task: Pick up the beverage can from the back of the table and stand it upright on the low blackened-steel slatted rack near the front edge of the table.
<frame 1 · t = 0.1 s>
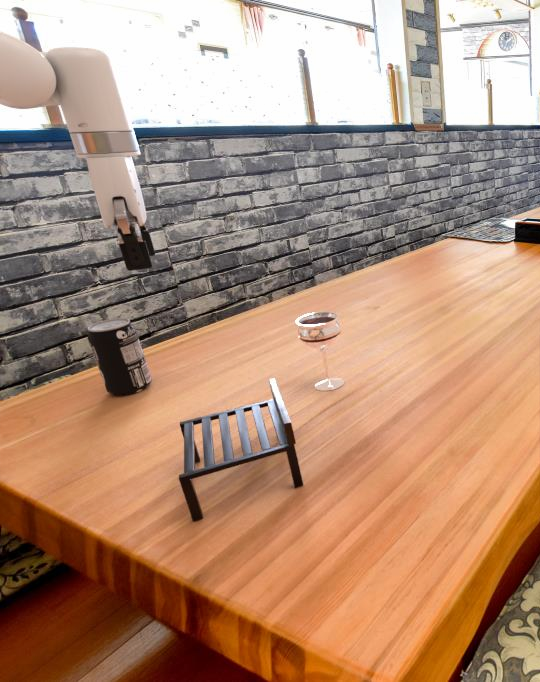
hand: (142, 262, 83), 22 cm above the table, tool pointing down, fingers open, 9 cm apart
beverage can: (131, 389, 92), on the table
rack: (245, 472, 68), on the table
wineglass: (329, 385, 91), on the table
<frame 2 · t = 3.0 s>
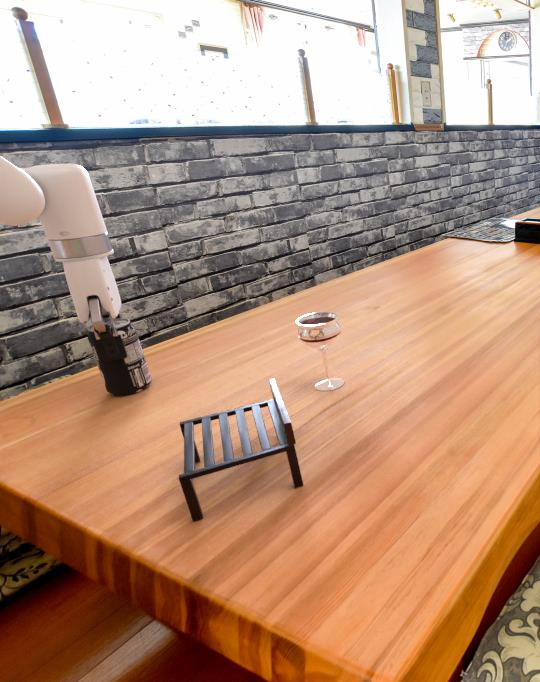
hand: (118, 351, 89), 7 cm above the table, tool pointing down, fingers closed on beverage can, 6 cm apart
beverage can: (131, 389, 92), on the table, touching gripper
everything else where it was.
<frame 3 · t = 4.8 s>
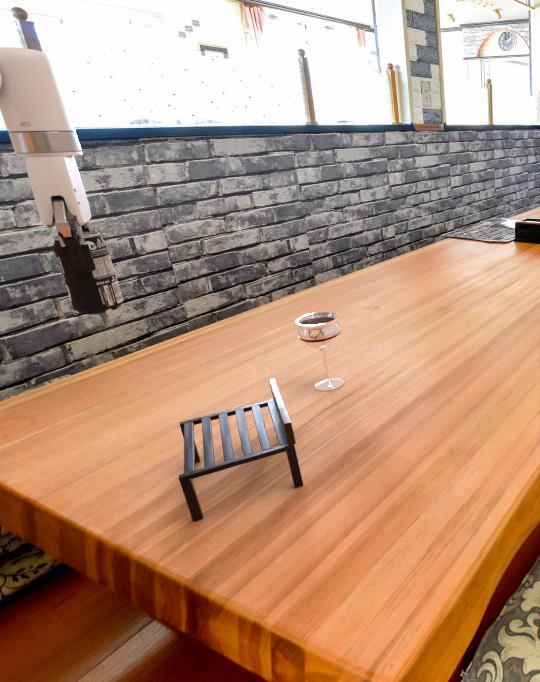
hand: (86, 266, 83), 22 cm above the table, tool pointing down, fingers closed on beverage can, 6 cm apart
beverage can: (100, 310, 86), point 15 cm above the table, touching gripper
everything else where it was.
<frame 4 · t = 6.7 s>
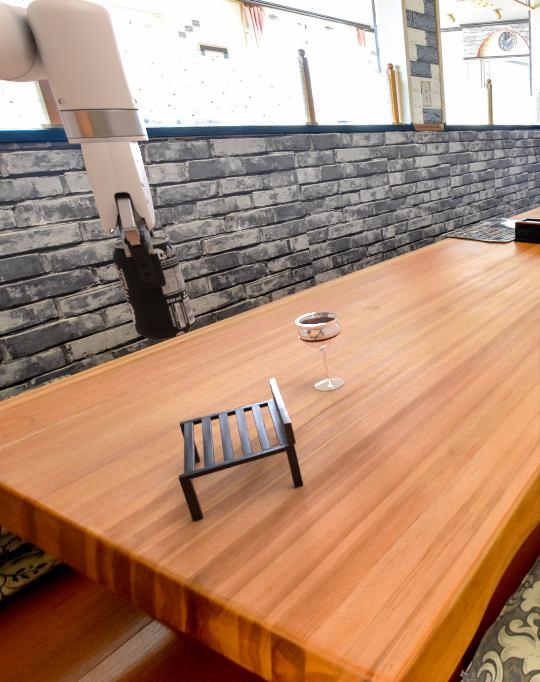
hand: (152, 279, 67), 24 cm above the table, tool pointing down, fingers closed on beverage can, 6 cm apart
beverage can: (168, 333, 70), point 16 cm above the table, touching gripper
everything else where it was.
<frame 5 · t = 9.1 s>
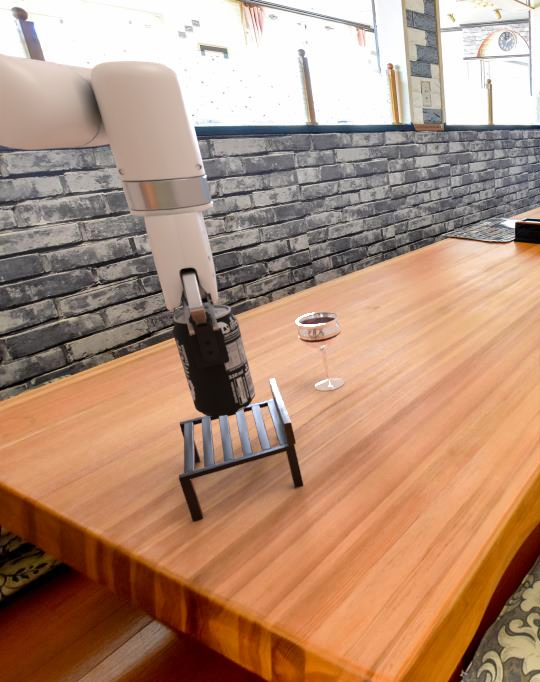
hand: (212, 352, 62), 17 cm above the table, tool pointing down, fingers closed on beverage can, 6 cm apart
beverage can: (227, 406, 65), point 10 cm above the table, touching gripper
everything else where it was.
when the fingers open (13 cm above the table, at t = 10.6 s): beverage can stays where it is, resting on rack.
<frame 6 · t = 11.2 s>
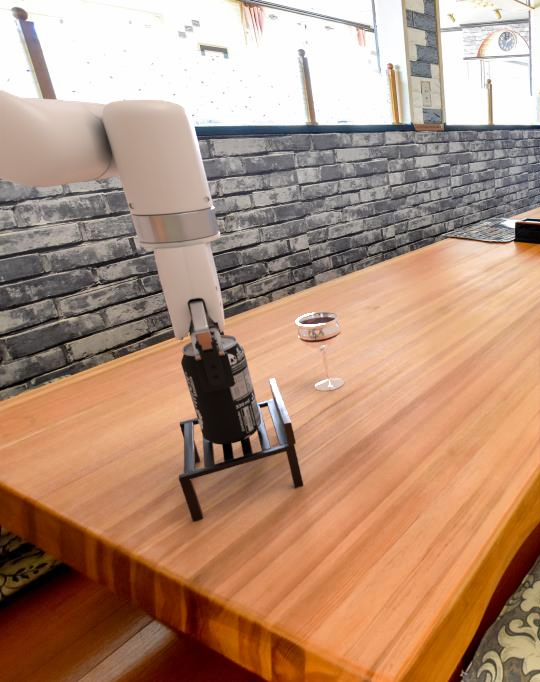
hand: (217, 372, 63), 14 cm above the table, tool pointing down, fingers open, 9 cm apart
beverage can: (234, 433, 66), point 6 cm above the table, touching rack
everything else where it was.
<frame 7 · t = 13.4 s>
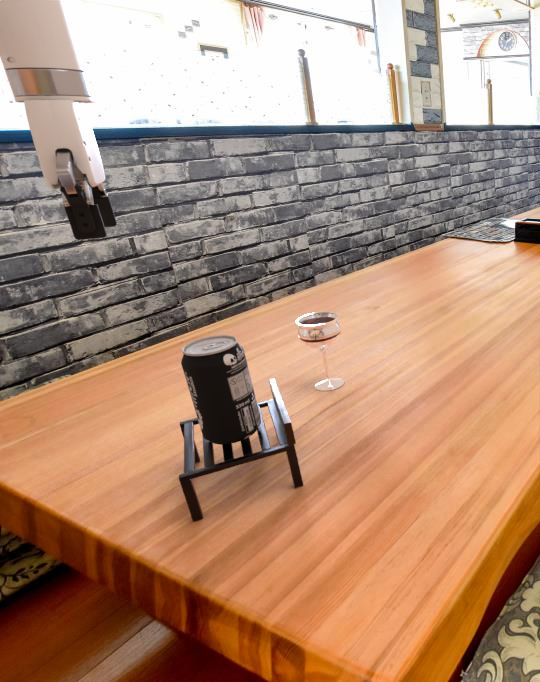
hand: (98, 232, 70), 29 cm above the table, tool pointing down, fingers open, 9 cm apart
nothing on the table moved.
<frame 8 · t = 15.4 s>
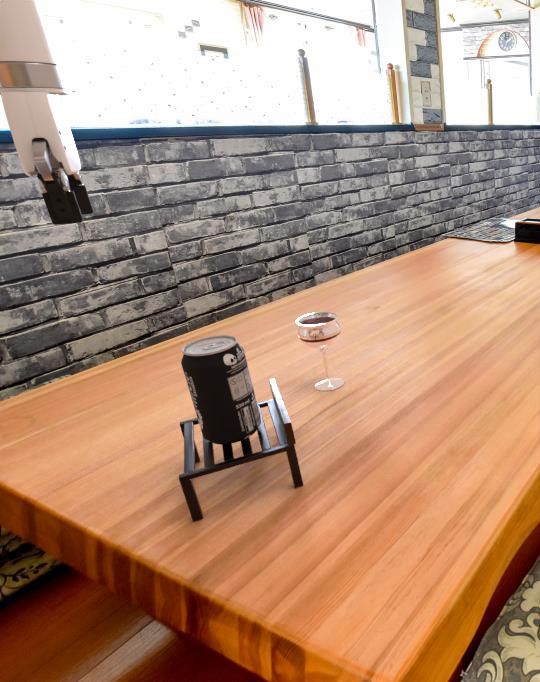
hand: (75, 218, 73), 30 cm above the table, tool pointing down, fingers open, 9 cm apart
nothing on the table moved.
at the end: beverage can inside the target area on the rack (0.0 cm from its centre), point 5.8 cm above the rack's base; beverage can tilted 0°; the gripper is holding nothing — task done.
